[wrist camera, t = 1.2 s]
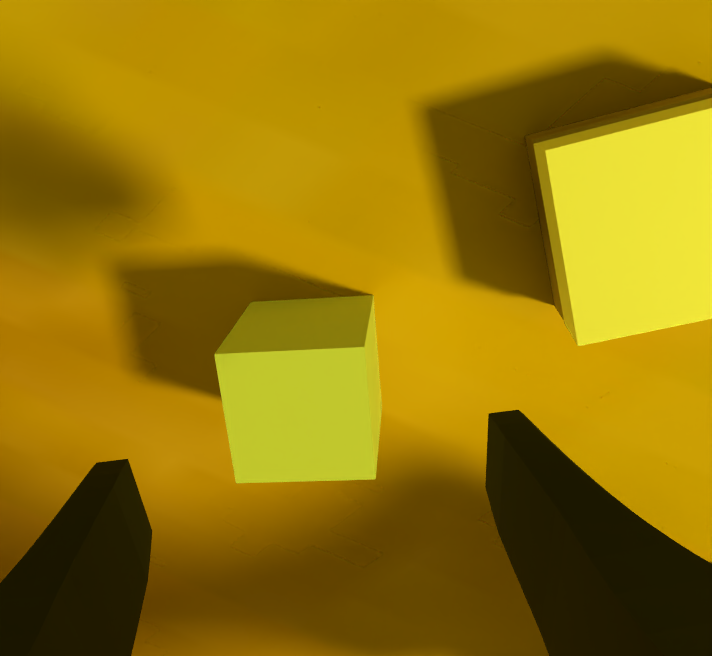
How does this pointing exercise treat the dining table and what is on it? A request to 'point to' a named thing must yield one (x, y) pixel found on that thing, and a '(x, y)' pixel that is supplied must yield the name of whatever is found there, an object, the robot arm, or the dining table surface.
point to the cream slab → (631, 222)
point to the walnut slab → (584, 126)
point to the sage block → (302, 390)
